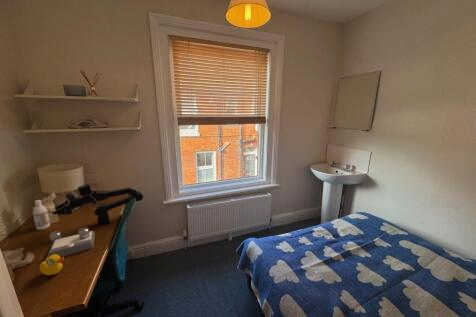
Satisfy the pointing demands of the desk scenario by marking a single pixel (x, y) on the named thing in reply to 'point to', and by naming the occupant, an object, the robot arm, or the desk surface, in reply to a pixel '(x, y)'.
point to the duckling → (52, 265)
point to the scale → (71, 245)
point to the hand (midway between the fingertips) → (53, 210)
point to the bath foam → (40, 216)
